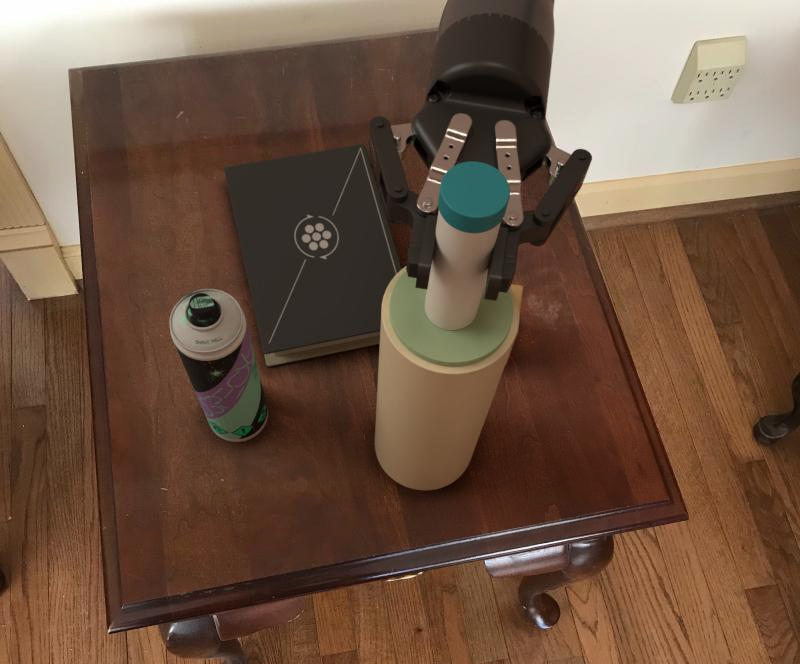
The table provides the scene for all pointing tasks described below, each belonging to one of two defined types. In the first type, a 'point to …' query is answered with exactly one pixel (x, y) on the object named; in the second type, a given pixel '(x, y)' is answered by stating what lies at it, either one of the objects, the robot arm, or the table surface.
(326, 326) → the book
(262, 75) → the table surface
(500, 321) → the pad
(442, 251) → the vial
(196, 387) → the spray can
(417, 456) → the pedestal
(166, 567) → the table surface
